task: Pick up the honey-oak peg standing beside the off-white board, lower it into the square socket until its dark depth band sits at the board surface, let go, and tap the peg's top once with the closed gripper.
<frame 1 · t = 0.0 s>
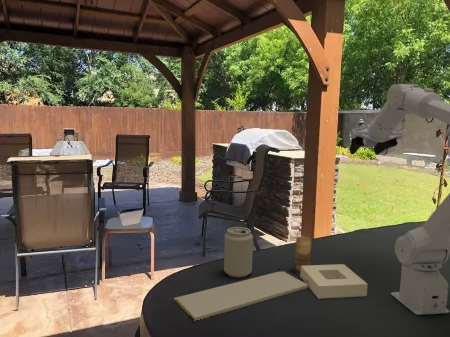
hand: (363, 151, 106), 32 cm above the table, tool tilted 50°, fingers open, 7 cm apart
can: (237, 273, 97), on the table
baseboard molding: (241, 295, 86), on the table
socket board: (331, 285, 91), on the table
oak peg: (302, 270, 100), on the table
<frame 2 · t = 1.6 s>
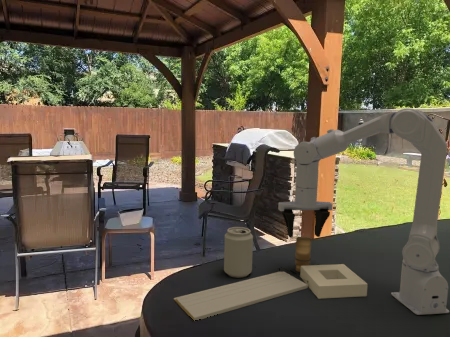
hand: (303, 236, 99), 10 cm above the table, tool pointing down, fingers open, 7 cm apart
nothing on the table moved.
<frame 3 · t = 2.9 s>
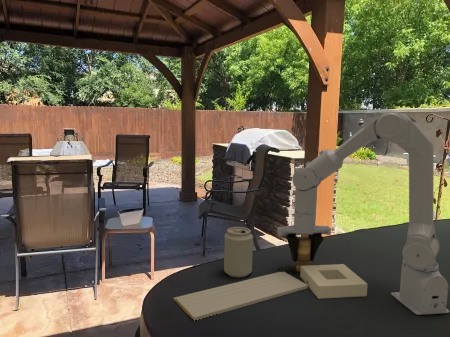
hand: (302, 260, 100), 3 cm above the table, tool pointing down, fingers closed on oak peg, 4 cm apart
oak peg: (302, 270, 100), on the table, touching gripper
everything else where it was.
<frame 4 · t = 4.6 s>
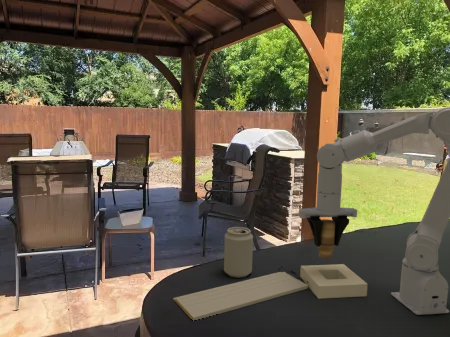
hand: (326, 244, 92), 10 cm above the table, tool pointing down, fingers closed on oak peg, 4 cm apart
oak peg: (325, 256, 92), point 7 cm above the table, touching gripper
everything else where it was.
when the fingers open (4 cm above the table, at t = 6.2 s): oak peg drops 1 cm, resting in socket board.
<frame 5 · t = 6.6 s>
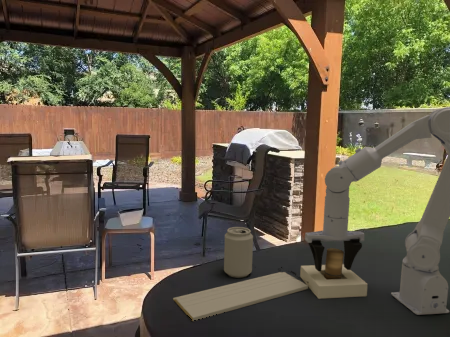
hand: (332, 269, 90), 4 cm above the table, tool pointing down, fingers open, 7 cm apart
oak peg: (331, 285, 91), resting in socket board
everything else where it was.
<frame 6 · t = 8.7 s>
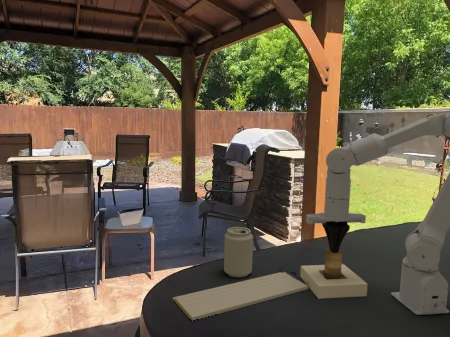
hand: (333, 251, 90), 9 cm above the table, tool pointing down, fingers closed, pressing on oak peg
oak peg: (331, 285, 91), resting in socket board, touching gripper
everything else where it was.
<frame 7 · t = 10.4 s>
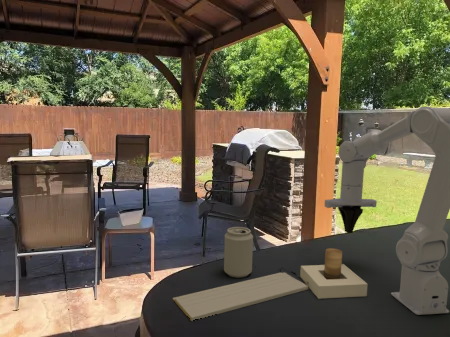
hand: (348, 232, 103), 10 cm above the table, tool pointing down, fingers closed
oak peg: (331, 285, 91), resting in socket board
everything else where it was.
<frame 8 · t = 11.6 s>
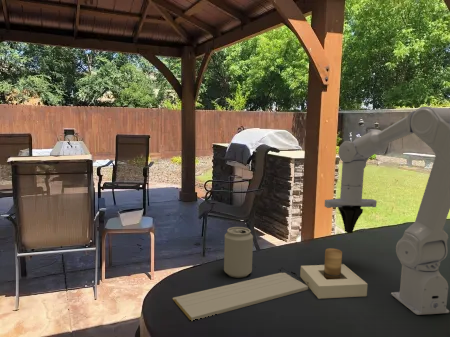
hand: (348, 232, 103), 10 cm above the table, tool pointing down, fingers closed
nothing on the table moved.
at the end: oak peg 0.1 cm off-centre on the socket board, point 0.0 cm above the socket board's base; oak peg tilted 0°; the gripper is holding nothing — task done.
